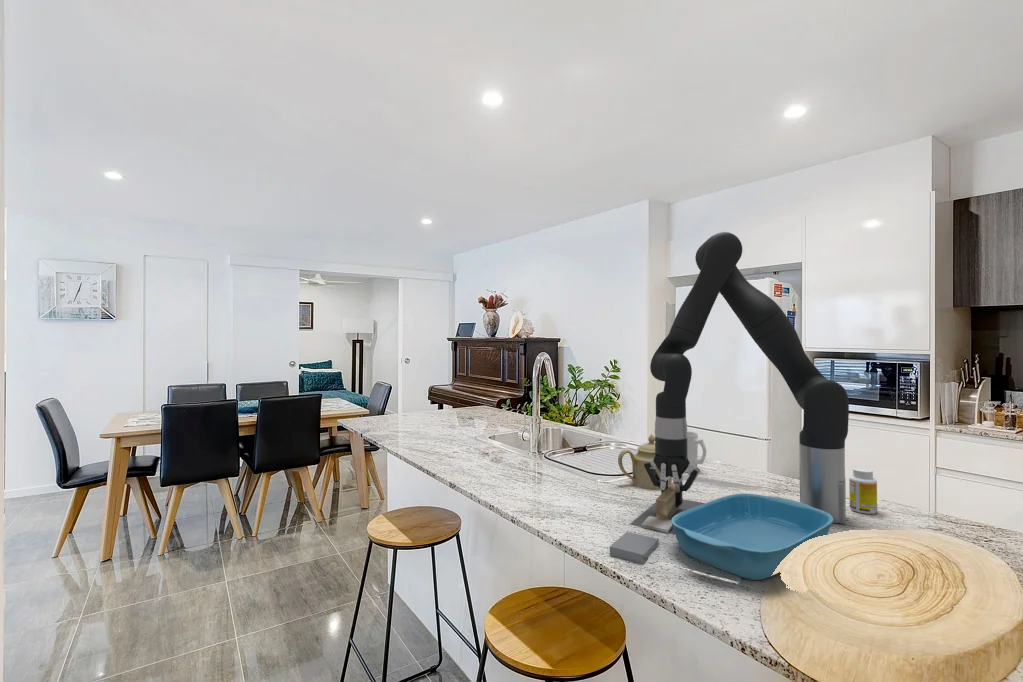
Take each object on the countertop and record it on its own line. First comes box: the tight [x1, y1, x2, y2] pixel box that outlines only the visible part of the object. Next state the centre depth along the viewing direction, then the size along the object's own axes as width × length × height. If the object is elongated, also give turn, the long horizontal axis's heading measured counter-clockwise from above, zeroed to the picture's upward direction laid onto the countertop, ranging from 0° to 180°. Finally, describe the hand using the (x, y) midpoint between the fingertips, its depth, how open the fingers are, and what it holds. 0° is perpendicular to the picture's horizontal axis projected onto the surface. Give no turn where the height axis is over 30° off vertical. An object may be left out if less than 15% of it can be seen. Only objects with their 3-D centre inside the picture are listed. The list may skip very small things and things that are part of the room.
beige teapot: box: [617, 433, 673, 491], centre depth 143 cm, size 15×11×15 cm
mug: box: [684, 430, 707, 473], centre depth 158 cm, size 10×7×12 cm, turn 39°
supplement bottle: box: [848, 467, 878, 515], centre depth 121 cm, size 6×6×10 cm
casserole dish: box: [671, 493, 833, 581], centre depth 101 cm, size 37×22×7 cm, turn 127°
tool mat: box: [629, 498, 706, 536], centre depth 120 cm, size 12×24×1 cm, turn 144°
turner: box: [641, 482, 684, 534], centre depth 117 cm, size 6×17×5 cm, turn 144°
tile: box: [609, 531, 660, 565], centre depth 101 cm, size 7×2×9 cm
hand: (671, 505), depth 120 cm, fingers closed on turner
